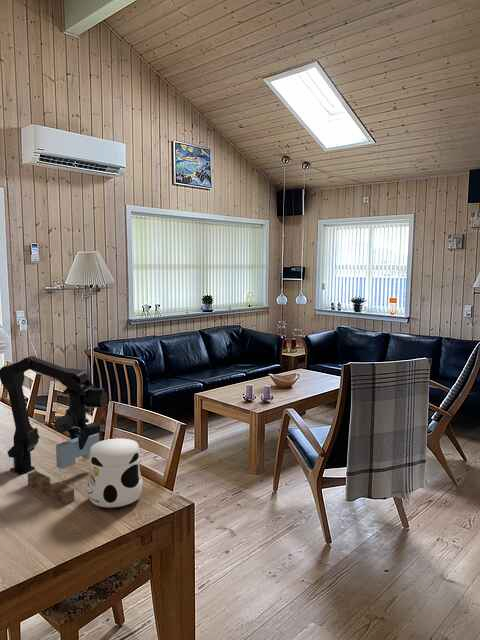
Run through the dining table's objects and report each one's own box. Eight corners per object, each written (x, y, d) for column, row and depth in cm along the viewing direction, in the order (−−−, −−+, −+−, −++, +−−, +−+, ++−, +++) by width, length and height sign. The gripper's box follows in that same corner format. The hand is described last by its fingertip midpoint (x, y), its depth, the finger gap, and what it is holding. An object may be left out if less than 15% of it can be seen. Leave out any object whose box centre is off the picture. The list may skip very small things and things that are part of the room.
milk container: (77, 500, 160) (75, 447, 158) (121, 483, 173) (121, 433, 171) (108, 519, 149) (107, 462, 147) (153, 499, 162) (153, 446, 160)
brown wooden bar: (28, 484, 171) (27, 473, 170) (36, 481, 173) (35, 470, 173) (66, 504, 158) (65, 492, 157) (74, 500, 160) (74, 488, 160)
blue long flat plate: (56, 466, 173) (55, 444, 172) (94, 452, 186) (94, 432, 185) (61, 469, 171) (61, 446, 170) (99, 454, 184) (99, 433, 183)
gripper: (41, 406, 175) (43, 449, 177) (73, 416, 164) (75, 462, 166) (69, 399, 184) (70, 440, 186) (101, 409, 173) (102, 452, 175)
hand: (78, 448), depth 178 cm, fingers closed on blue long flat plate, 3 cm apart
